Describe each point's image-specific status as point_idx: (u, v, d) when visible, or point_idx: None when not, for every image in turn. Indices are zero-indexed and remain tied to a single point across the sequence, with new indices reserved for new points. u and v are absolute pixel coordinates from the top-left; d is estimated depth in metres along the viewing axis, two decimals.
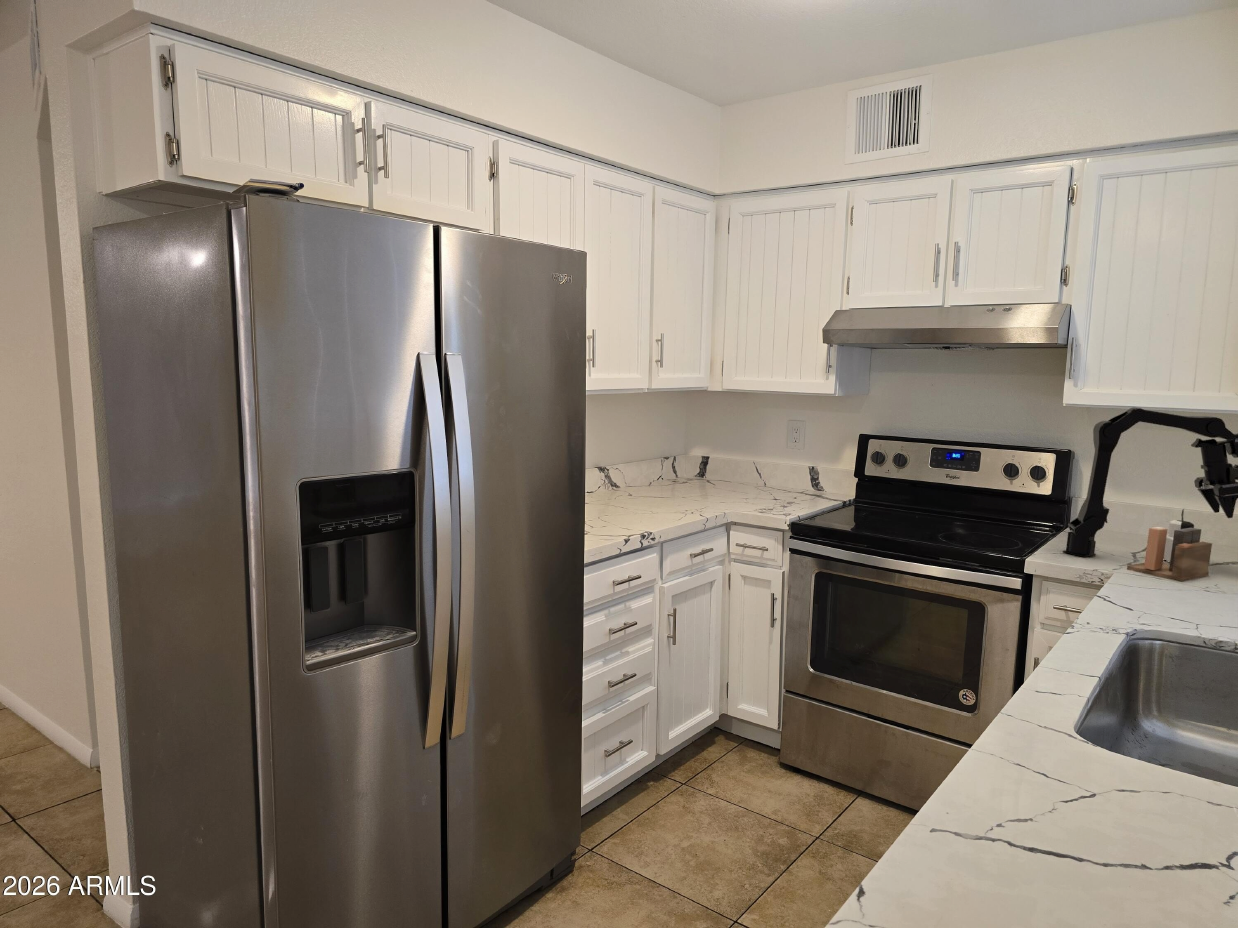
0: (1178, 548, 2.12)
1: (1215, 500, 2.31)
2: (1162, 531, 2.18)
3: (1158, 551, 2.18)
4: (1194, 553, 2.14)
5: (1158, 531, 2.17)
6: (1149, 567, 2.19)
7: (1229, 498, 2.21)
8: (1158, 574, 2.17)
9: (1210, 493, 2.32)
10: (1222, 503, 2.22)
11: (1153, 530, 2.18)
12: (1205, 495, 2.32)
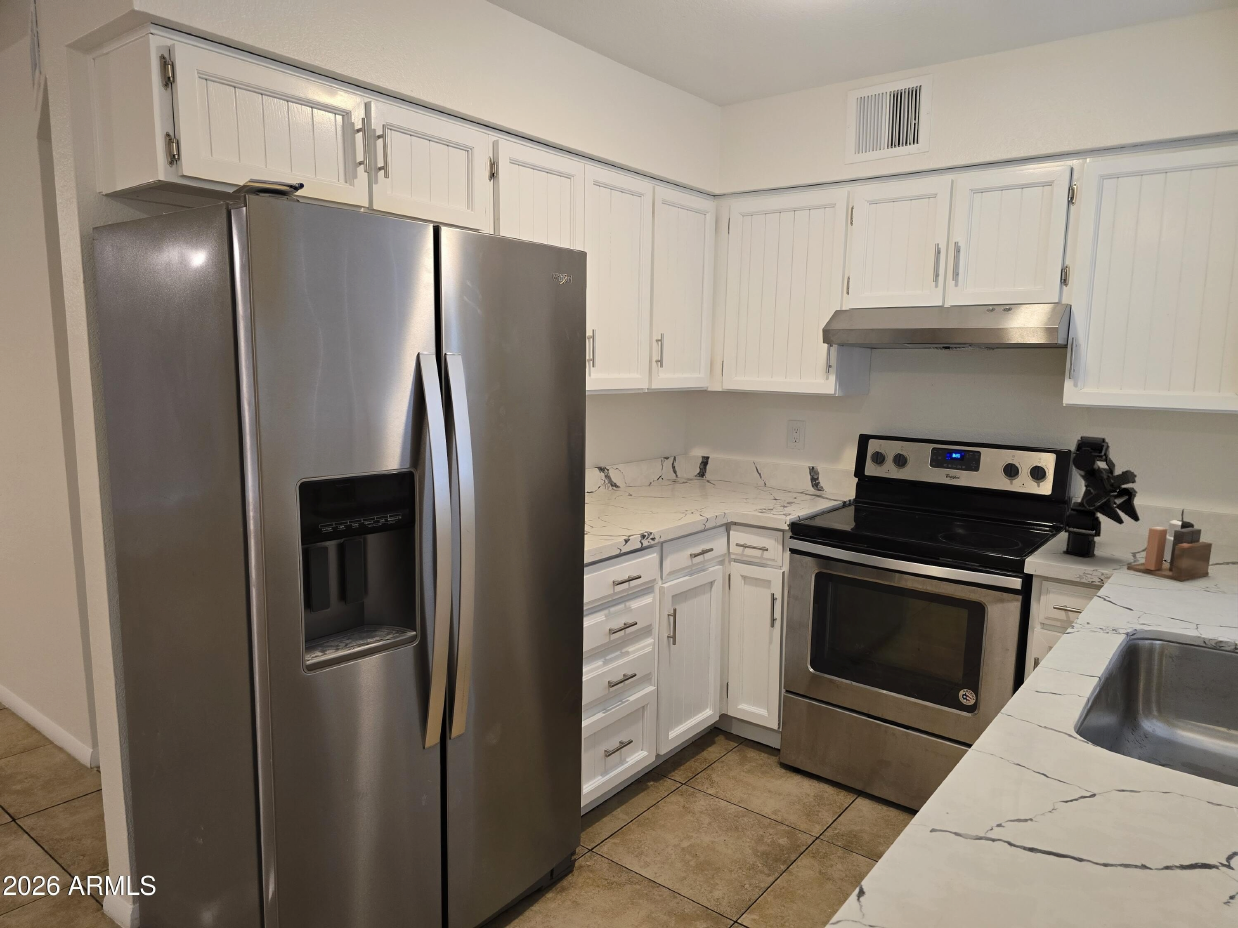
0: (1178, 548, 2.12)
1: (1130, 510, 2.29)
2: (1162, 531, 2.18)
3: (1158, 551, 2.18)
4: (1194, 553, 2.14)
5: (1158, 531, 2.17)
6: (1149, 567, 2.19)
7: (1107, 506, 2.25)
8: (1158, 574, 2.17)
9: (1123, 506, 2.31)
10: (1103, 513, 2.25)
11: (1153, 530, 2.18)
12: (1120, 509, 2.32)
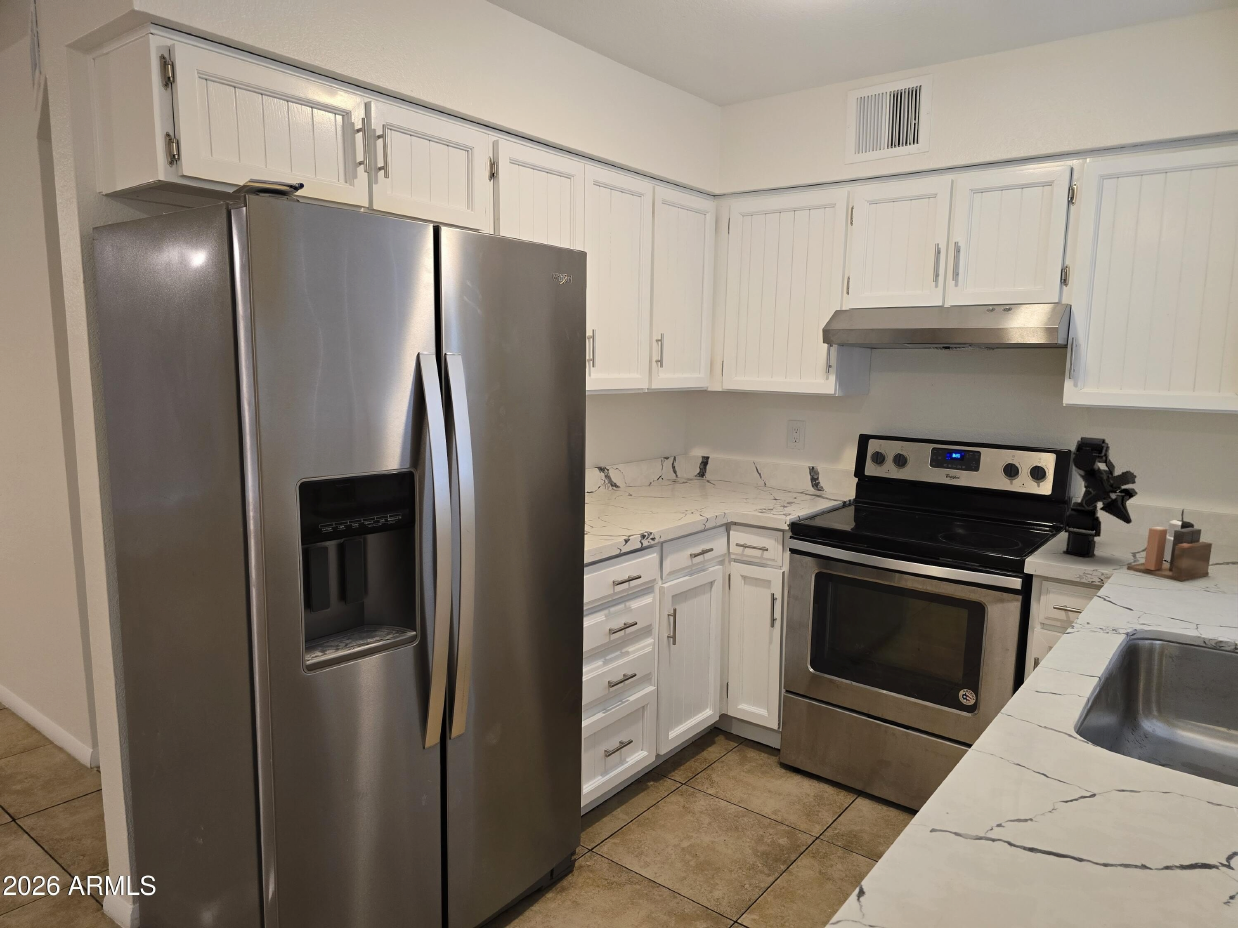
0: (1178, 548, 2.12)
1: None
2: (1162, 531, 2.18)
3: (1158, 551, 2.18)
4: (1194, 553, 2.14)
5: (1158, 531, 2.17)
6: (1149, 567, 2.19)
7: (1114, 506, 2.27)
8: (1158, 574, 2.17)
9: None
10: (1110, 513, 2.27)
11: (1153, 530, 2.18)
12: None
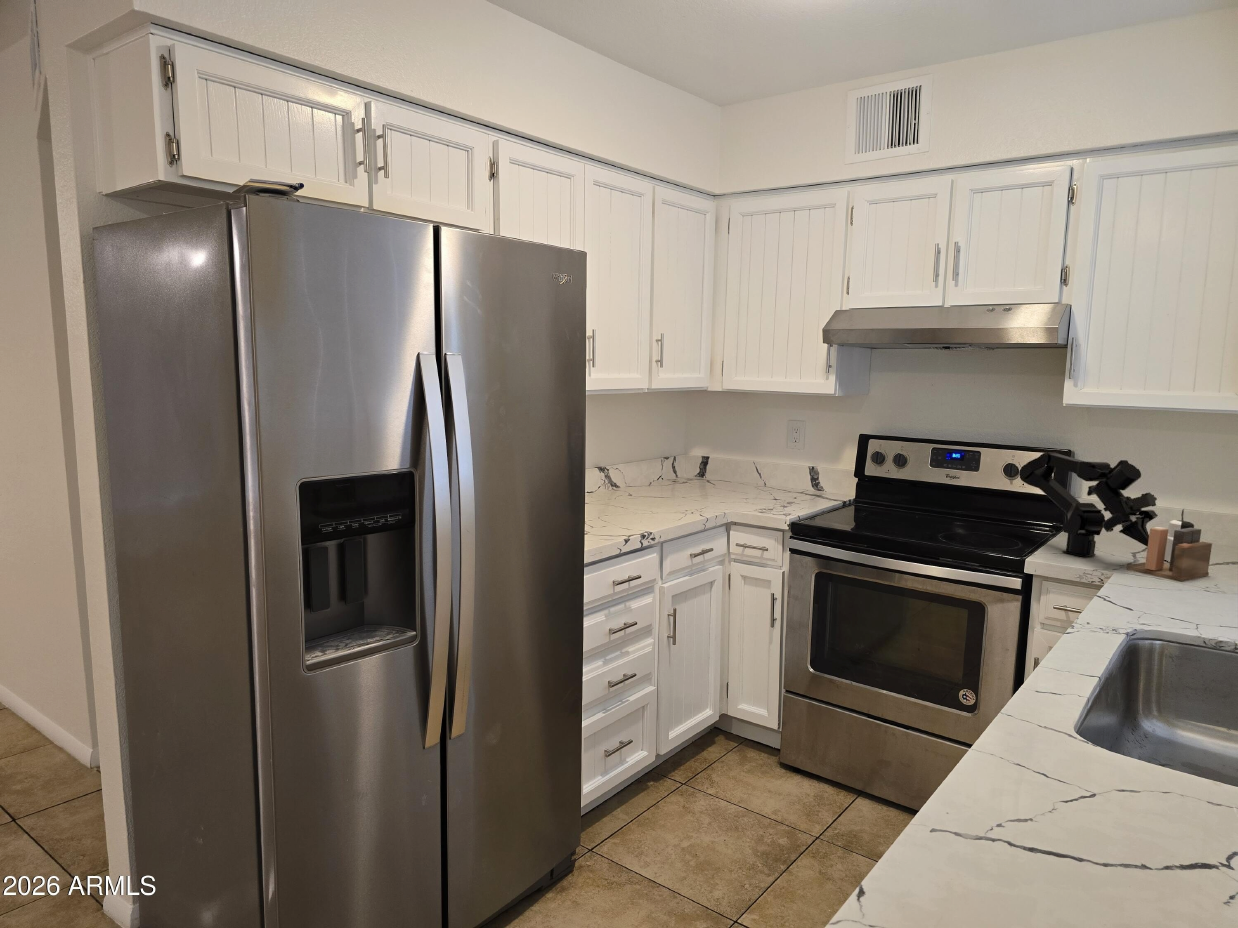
0: (1178, 548, 2.12)
1: None
2: (1163, 531, 2.17)
3: (1159, 551, 2.18)
4: (1194, 553, 2.14)
5: (1159, 531, 2.17)
6: (1150, 567, 2.19)
7: (1134, 528, 2.23)
8: (1158, 574, 2.17)
9: None
10: (1130, 536, 2.23)
11: (1154, 530, 2.18)
12: None
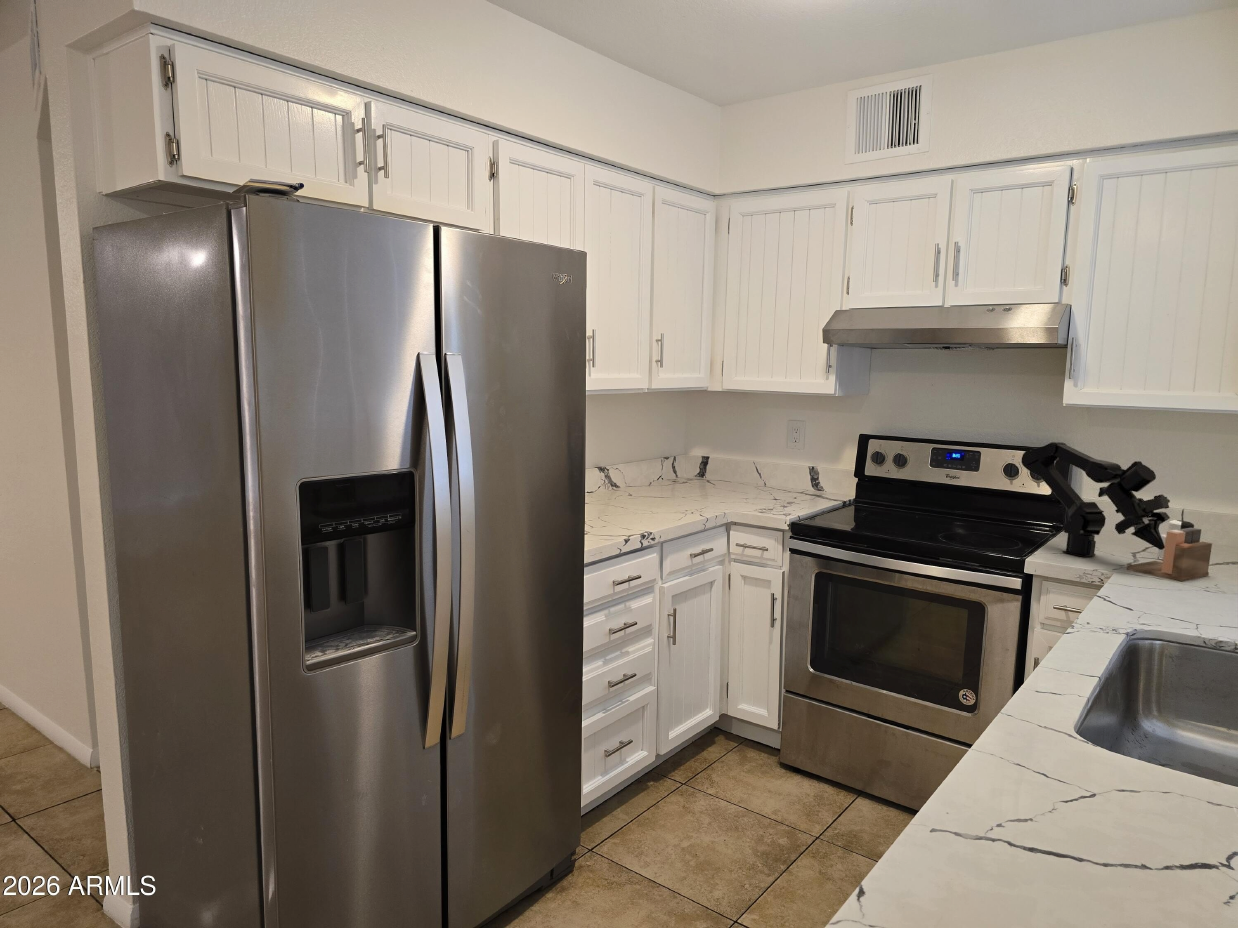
0: (1178, 548, 2.12)
1: None
2: (1180, 534, 2.14)
3: None
4: (1194, 553, 2.14)
5: (1176, 534, 2.13)
6: (1167, 571, 2.15)
7: (1147, 531, 2.20)
8: (1158, 574, 2.17)
9: None
10: (1142, 538, 2.21)
11: (1171, 533, 2.14)
12: None
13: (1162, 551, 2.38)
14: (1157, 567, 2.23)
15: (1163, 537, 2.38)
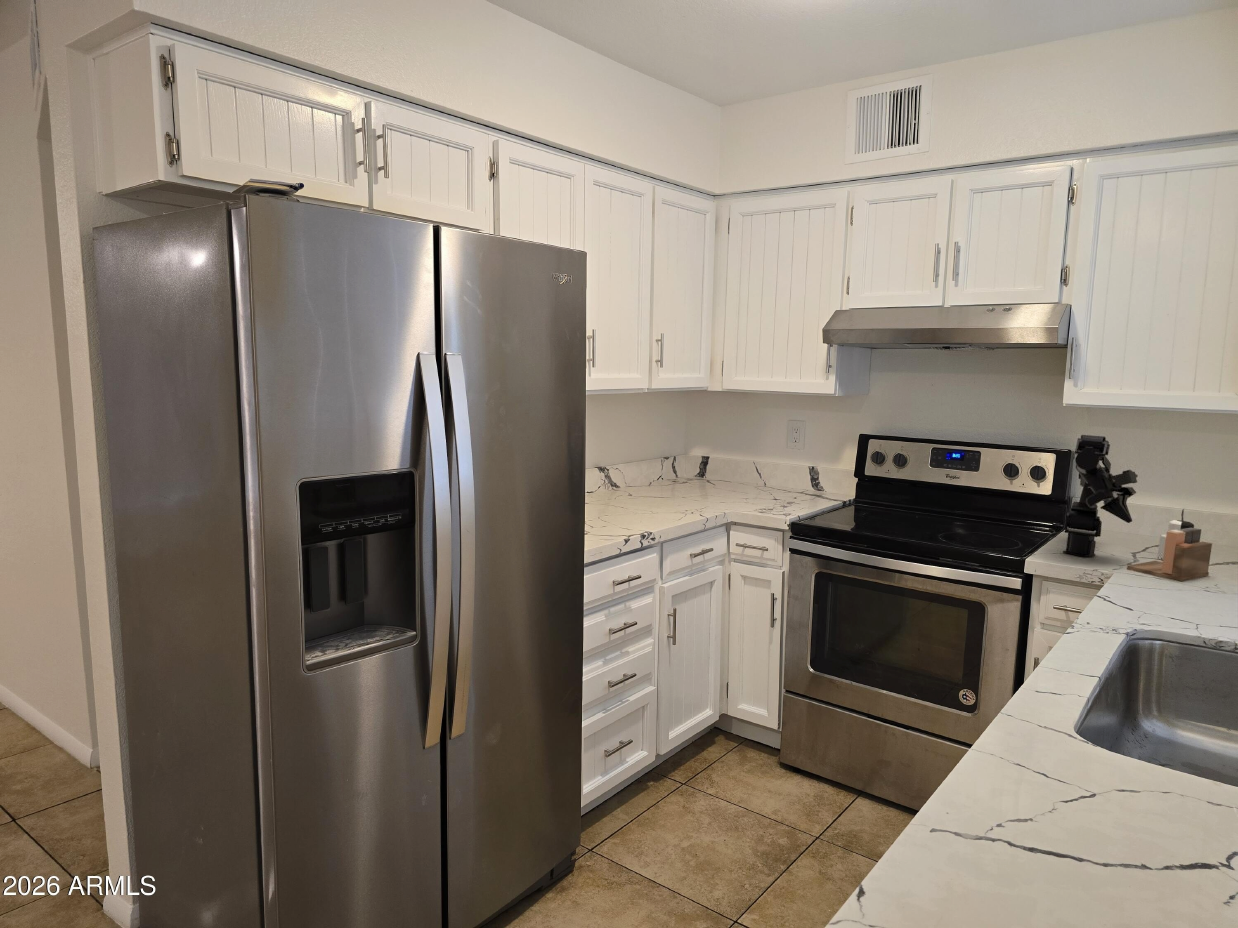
0: (1178, 548, 2.12)
1: None
2: (1180, 534, 2.14)
3: None
4: (1194, 553, 2.14)
5: (1176, 534, 2.13)
6: (1167, 571, 2.15)
7: (1115, 505, 2.27)
8: (1158, 574, 2.17)
9: None
10: (1111, 512, 2.28)
11: (1171, 533, 2.14)
12: None
13: (1162, 551, 2.38)
14: (1157, 567, 2.23)
15: (1163, 537, 2.38)
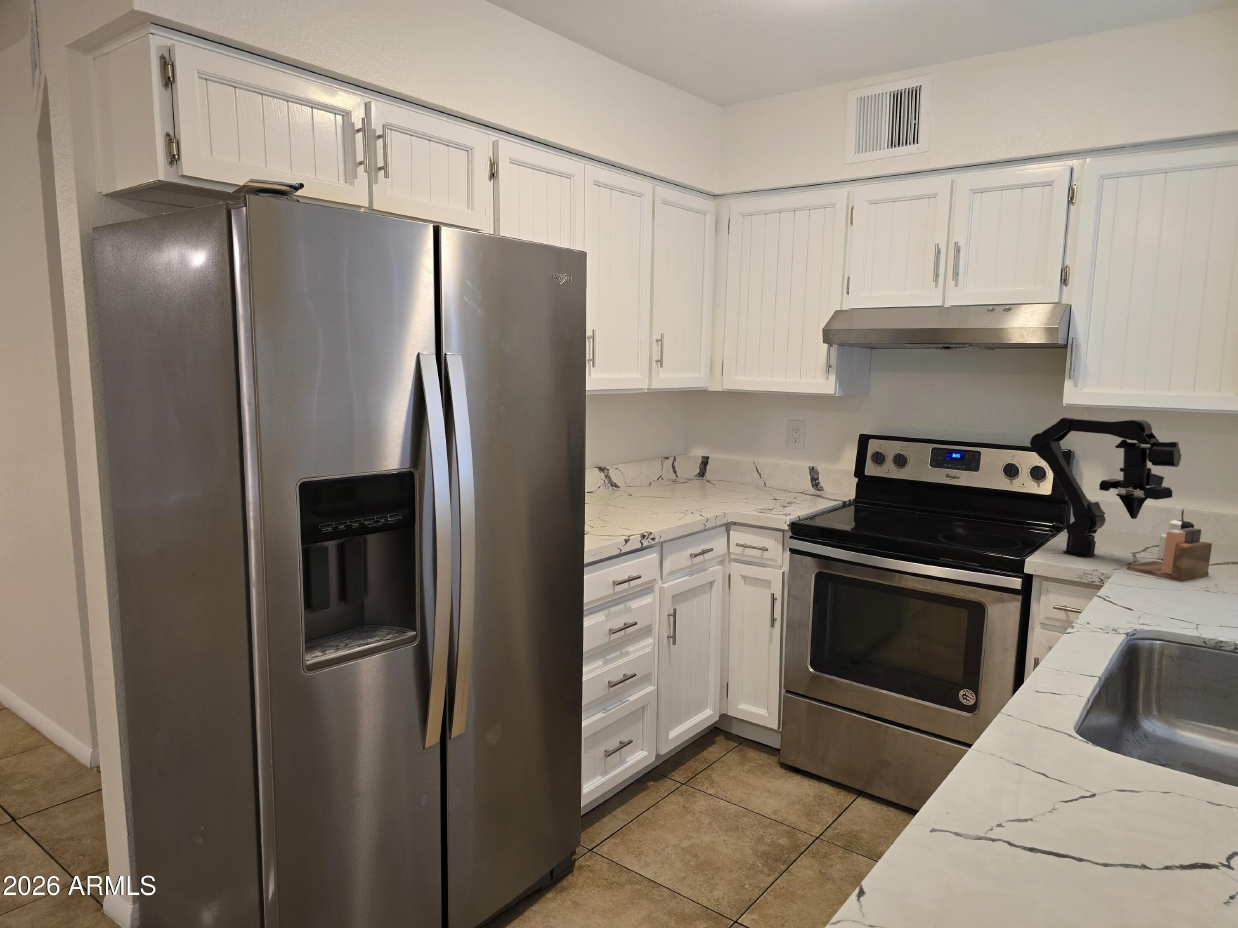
0: (1178, 548, 2.12)
1: None
2: (1180, 534, 2.14)
3: None
4: (1194, 553, 2.14)
5: (1176, 534, 2.13)
6: (1167, 571, 2.15)
7: (1139, 499, 2.27)
8: (1158, 574, 2.17)
9: None
10: (1135, 504, 2.27)
11: (1171, 533, 2.14)
12: (1127, 501, 2.29)
13: (1162, 551, 2.38)
14: (1157, 567, 2.23)
15: (1163, 537, 2.38)
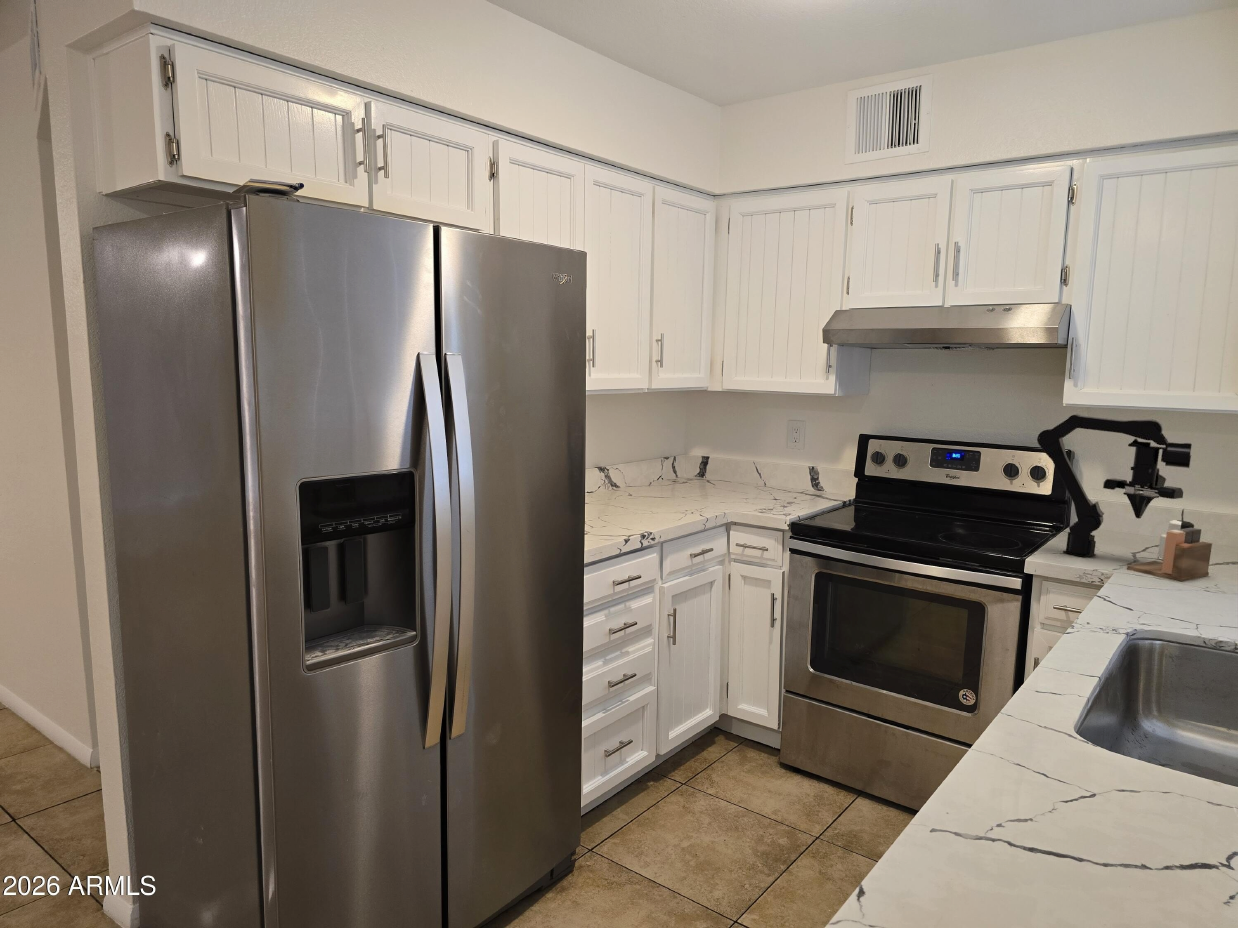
0: (1178, 548, 2.12)
1: None
2: (1180, 534, 2.14)
3: None
4: (1194, 553, 2.14)
5: (1176, 534, 2.13)
6: (1167, 571, 2.15)
7: (1146, 499, 2.28)
8: (1158, 574, 2.17)
9: (1137, 498, 2.29)
10: (1144, 503, 2.27)
11: (1171, 533, 2.14)
12: (1135, 500, 2.29)
13: (1162, 551, 2.38)
14: (1157, 567, 2.23)
15: (1163, 537, 2.38)
